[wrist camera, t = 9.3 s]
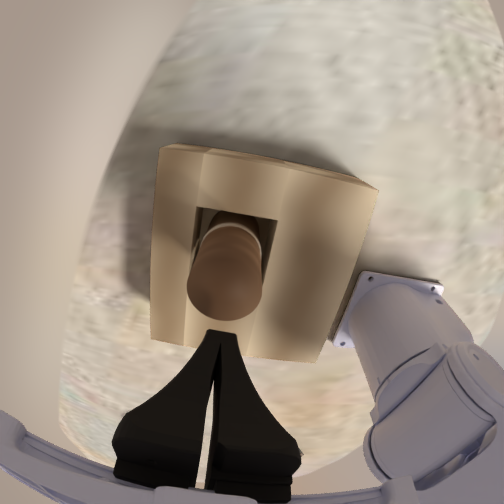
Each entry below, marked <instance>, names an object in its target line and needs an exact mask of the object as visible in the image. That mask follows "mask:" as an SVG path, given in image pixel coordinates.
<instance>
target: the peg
mask: <svg viewBox="0 0 504 504" xmlns="http://www.w3.org/2000/svg"><path fill="white" fill-rule="evenodd" d="M187 294H188V297H189V299H190V301H191V303H192V304H193V306H194V307H195V308H196V309H197V310H198V311H199V312H201V313H202V314H203V315H205V316H207V317H209V318H212V319H215V320H220V321H233V320H238V319H241V318H243V317H245V316H247V315H249V314H250V313H251V312H253V311H254V310H255V309H256V307H257V306H258V304H259V302H260V300H261V297H262V275H261V245H260V234H259V225H258V222H257V220H256V218H255V217H254V216H251V215H245V214H240V213H234V212H228V211H222V210H220V211H219V212H218V213H216V214H215V215H214V217H213V218H212V220H211V222H210V225H209V227H208V229H207V232H206V234H205V236H204V237H203V239H202V242H201V244H200V248H199V251H198V254H197V256H196V259H195V261H194V264H193V266H192V269H191V272H190V274H189V277H188V280H187Z"/></svg>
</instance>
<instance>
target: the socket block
mask: <svg viewBox="0 0 504 504" xmlns="http://www.w3.org/2000/svg"><path fill="white" fill-rule="evenodd" d="M378 192H379V190H377V189H375V188H374V187H372V186H370V185H369V184H367V183H365V182H364V181H362V180H360V179H359V178H356V177H352V176H348V175H345V174H341V173H337V172H333V171H329V170H325V169H321V168H316V167H312V166H308V165H303V164H299V163H294V162H289V161H285V160H280V159H275V158H270V157H265V156H259V155H254V154H248V153H242V152H237V151H230V150H224V149H218V148H211V147H204V146H197V145H189V144H181V143H175V144H172V145H168V146H165V147H161V148H159V156H158V164H157V174H156V184H155V195H154V207H153V221H152V239H151V266H150V328H151V339H153V340H158V341H162V342H167V343H172V344H177V345H182V346H187V347H193V348H198V347H199V345H200V344H201V342H202V340H203V338H204V336H205V334H206V331H207V330H208V329H213V330H218V331H224V332H230V333H235V334H236V335H237V340H238V345H239V349H240V353H241V355H242V356H250V357H257V358H265V359H274V360H283V361H294V362H305V363H316V361H317V359H318V356H319V354H320V352H321V350H322V347H323V345H324V343H325V341H326V338H327V336H328V334H329V331H330V329H331V326H332V324H333V322H334V319H335V317H336V314H337V312H338V309H339V307H340V304H341V302H342V299H343V297H344V294H345V291H346V289H347V286H348V284H349V281H350V278H351V275H352V273H353V270H354V267H355V264H356V261H357V259H358V256H359V253H360V250H361V247H362V244H363V241H364V238H365V235H366V232H367V229H368V226H369V222H370V219H371V216H372V213H373V209H374V206H375V203H376V199H377V196H378ZM220 210H222V211H228V212H234V213H240V214H245V215H251V216H254V217H255V218H256V220H257V222H258V225H259V234H260V245H261V275H262V297H261V300H260V302H259V304H258V306H257V307H256V309H255V310H254V311H253V312H251V313H250V314H249V315H247V316H245V317H243V318H241V319H238V320H233V321H220V320H215V319H212V318H209V317H207V316H205V315H203V314H202V313H201V312H199V311H198V310H197V309H196V308H195V307H194V306H193V304H192V303H191V301H190V299H189V297H188V294H187V280H188V277H189V274H190V272H191V269H192V266H193V264H194V261H195V259H196V256H197V254H198V251H199V248H200V244H201V242H202V239H203V237H204V236H205V234H206V232H207V229H208V227H209V225H210V222H211V220H212V218H213V217H214V215H215V214H216V213H218V212H219V211H220Z"/></svg>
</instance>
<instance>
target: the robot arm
mask: <svg viewBox="0 0 504 504" xmlns="http://www.w3.org/2000/svg"><path fill="white" fill-rule="evenodd" d="M371 276H372V278H371V279H369V280H368V278H369V277H371ZM432 287H433V288H432ZM431 288H432V289H431ZM443 290H444V286H443V285H442V284H440V283H434V282H428V281H422V280H416V279H410V278H405V277H399V276H393V275H387V274H381V273H375V272H370V271H363V272H361V273H360V275H359V277H358V280H357V282H356V285H355V288H354V290H353V293H352V295H351V298H350V300H349V303H348V305H347V308H346V310H345V312H344V315H343V317H342V320H341V322H340V324H339V327H338V329H337V331H336V333H335V336H334V338H333V340H332V343H333V346H335V347H345V348H355V349H356V351H357V354H358V357H359V359H360V362H361V365H362V368H363V370H364V373H365V376H366V378H367V381H368V384H369V387H370V390H371V392H372V395H373V398H374V401H375V407H374V408H373V410H372V411H371V412H370V415H371V418H372V421H373V426H372V427H371V428H369V430H368V431H367V433H366V435H365V437H364V441H363V451H364V457H365V460H366V463H367V465H368V467H369V468H370V470H371V472H372V473H373V474H374V476H375V477H376V478H377V479H378V480H379V481H380V482H382V483H383V484H382V485H381V486H379V487H373V488H367V489H360V490H353V491H346V492H336V493H325V494H307V495H291V486H290V485H291V484H292V475H293V474H294V473H295V471H296V470H297V469H298V468H299V467H300V465H301V455H300V451H299V448H298V445H297V442H296V440H295V439H294V438H293V437H292V436H291V435H290V434H289V433H288V432H287V431H286V430H285V429H284V428H283V427H282V426H281V425H280V424H279V422H278V421H277V420H276V419H275V418H274V416H273V415H272V414H271V412H270V411H269V410H268V408H267V407H266V406H265V404H264V403H263V401H262V399H261V398H260V396H259V395H258V393H257V391H256V389H255V387H254V385H253V383H252V381H251V379H250V377H249V375H248V372H247V370H246V367H245V365H244V362H243V359H242V356H241V353H240V349H239V345H238V340H237V335H236V334H235V333H230V332H224V331H218V330H213V329H208V330H207V331H206V334H205V336H204V338H203V340H202V342H201V344H200V345H199V347H198V349H197V350H196V352H195V353H194V354H193V356H192V357H191V359H190V360H189V361H188V362H187V364H186V365H185V366H184V367H183V369H182V370H181V371H180V372H179V373H178V374H177V375H176V376H175V377H174V378H173V379H172V380H171V381H170V382H169V383H168V384H167V385H166V386H165V387H164V388H163V389H162V390H160V391H159V392H158V393H157V394H155V395H154V396H153V397H151V398H150V399H149V400H147V401H146V402H144V403H143V404H141V405H140V406H138V407H136V408H135V409H133V410H131V411H129V412H128V413H126V415H125V416H124V417H123V419H122V420H121V422H120V423H119V425H118V427H117V429H116V431H115V434H114V436H113V439H112V446H113V449H114V451H115V453H116V456H117V460H116V464H115V467H114V468H112V467H109V466H106V465H103V464H100V463H97V462H94V461H92V460H89V459H86V458H84V457H81V456H78V455H76V454H74V453H71V452H69V451H67V450H65V449H63V448H60V447H58V446H56V445H54V444H52V443H50V442H48V441H45V440H43V439H41V438H40V437H38V436H36V435H34V434H32V433H30V432H28V431H27V430H26V428H25V427H24V425H23V424H22V423H21V422H20V421H18V420H17V419H16V418H14V417H12V416H11V415H9V414H7V413H5V412H4V411H2V410H0V468H1V469H2V470H3V471H5V472H6V473H8V474H9V475H11V476H12V477H14V478H16V479H17V480H19V481H20V482H22V483H24V484H25V485H27V486H29V487H30V488H32V489H34V490H36V491H37V492H39V493H41V494H43V495H44V496H46V497H48V498H50V499H52V500H54V501H56V502H58V503H59V504H504V370H503V369H502V368H501V366H500V365H499V364H498V363H497V362H496V361H495V360H494V359H493V357H491V356H490V355H489V354H488V353H487V352H486V351H485V350H483V349H482V348H481V347H479V346H478V345H476V344H474V340H473V337H472V334H471V332H470V331H469V329H468V328H467V327H466V325H465V324H464V323H463V322H462V320H461V319H460V318H459V317H458V315H457V314H456V313H455V312H454V311H453V309H452V308H451V307H450V306H449V305H448V304H447V302H446V301H445V300H444V299H443V298H442V297H441V295H442V292H443ZM341 342H343V343H341ZM213 381H214V393H213V423H212V432H211V440H210V447H209V455H208V463H207V471H206V479H205V487H204V489H199V488H195V484H196V478H197V473H198V467H199V462H200V456H201V449H202V441H203V433H204V425H205V417H206V409H207V405H208V401H209V397H210V393H211V389H212V385H213Z"/></svg>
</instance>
